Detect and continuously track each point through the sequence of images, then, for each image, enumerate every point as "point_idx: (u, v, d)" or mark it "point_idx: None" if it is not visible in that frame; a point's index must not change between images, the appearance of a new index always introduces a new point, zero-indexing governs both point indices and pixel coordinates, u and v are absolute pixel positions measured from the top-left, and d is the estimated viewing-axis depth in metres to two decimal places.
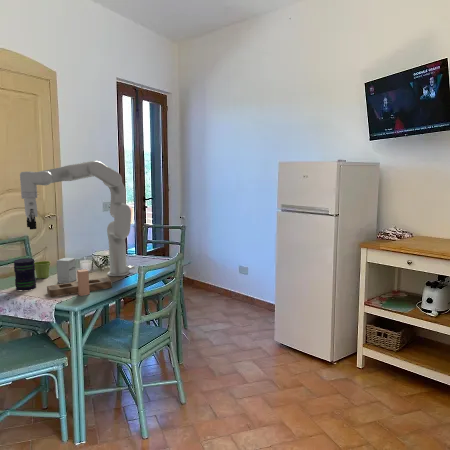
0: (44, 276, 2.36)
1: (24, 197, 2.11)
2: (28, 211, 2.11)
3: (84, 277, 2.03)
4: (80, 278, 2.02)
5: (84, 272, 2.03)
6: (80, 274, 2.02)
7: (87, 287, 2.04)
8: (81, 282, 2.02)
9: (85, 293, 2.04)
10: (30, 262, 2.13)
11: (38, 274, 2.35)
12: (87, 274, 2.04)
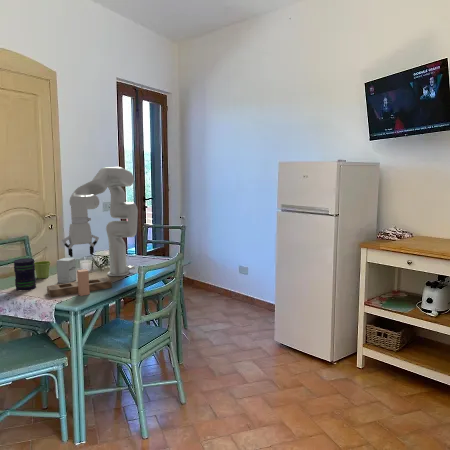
0: (44, 276, 2.36)
1: (86, 222, 2.00)
2: (91, 236, 2.03)
3: (83, 277, 2.03)
4: (80, 278, 2.02)
5: (84, 272, 2.03)
6: (80, 274, 2.02)
7: (87, 287, 2.04)
8: (81, 282, 2.02)
9: (85, 293, 2.04)
10: (30, 262, 2.13)
11: (38, 274, 2.35)
12: (87, 274, 2.04)
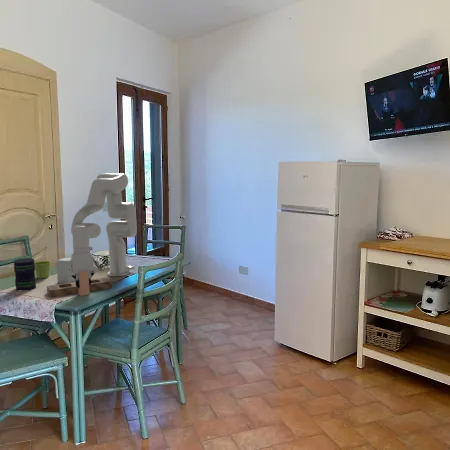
0: (44, 276, 2.36)
1: (88, 252, 2.02)
2: None
3: (83, 277, 2.03)
4: (80, 278, 2.02)
5: (84, 272, 2.03)
6: (80, 274, 2.02)
7: (87, 287, 2.04)
8: (81, 282, 2.02)
9: (85, 293, 2.04)
10: (30, 262, 2.13)
11: (38, 274, 2.35)
12: (87, 274, 2.04)
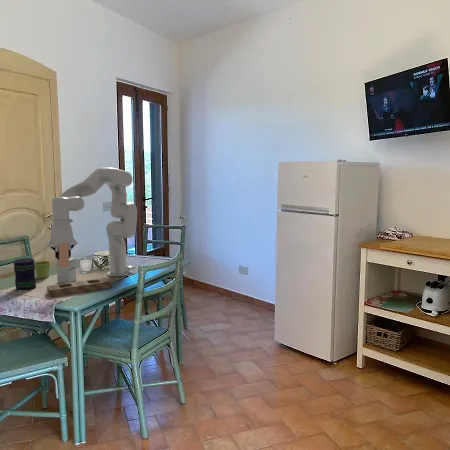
0: (44, 276, 2.36)
1: (68, 224, 2.03)
2: None
3: (63, 249, 2.04)
4: (59, 249, 2.03)
5: (64, 244, 2.04)
6: (59, 245, 2.03)
7: (66, 259, 2.05)
8: (60, 254, 2.03)
9: (64, 265, 2.05)
10: (30, 262, 2.13)
11: (38, 274, 2.35)
12: (67, 246, 2.05)
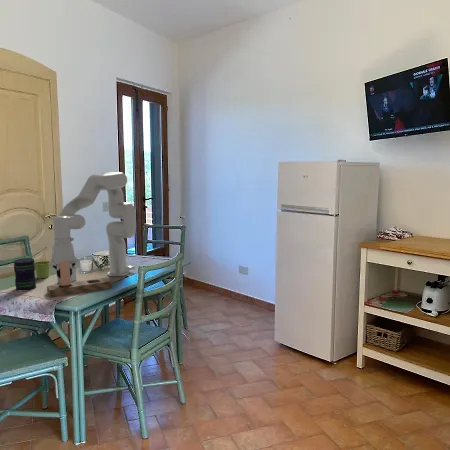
0: (44, 276, 2.36)
1: (69, 242, 2.05)
2: (74, 255, 2.08)
3: (64, 267, 2.05)
4: (61, 268, 2.04)
5: (65, 262, 2.05)
6: (61, 264, 2.04)
7: (68, 277, 2.06)
8: (62, 272, 2.05)
9: (66, 283, 2.06)
10: (30, 262, 2.13)
11: (38, 274, 2.35)
12: (68, 264, 2.06)
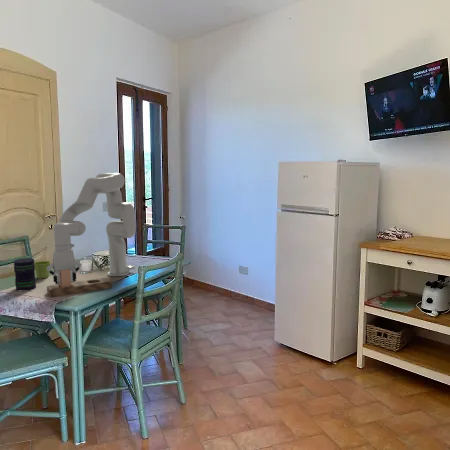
0: (44, 276, 2.36)
1: (69, 249, 2.05)
2: (74, 262, 2.08)
3: (65, 275, 2.06)
4: (62, 276, 2.05)
5: (66, 271, 2.06)
6: (62, 273, 2.05)
7: (69, 285, 2.07)
8: (63, 280, 2.06)
9: None
10: (30, 262, 2.13)
11: (38, 274, 2.35)
12: (69, 273, 2.07)
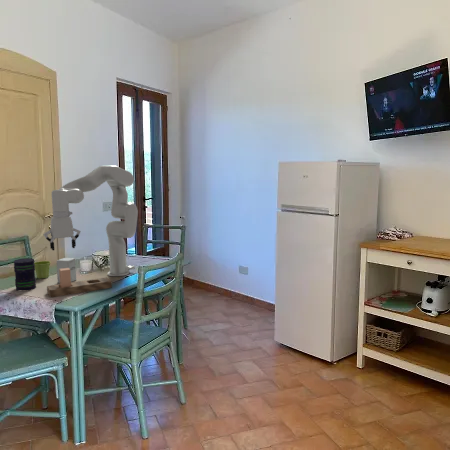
0: (44, 276, 2.36)
1: (67, 216, 2.03)
2: (73, 230, 2.06)
3: (65, 275, 2.06)
4: (62, 277, 2.05)
5: (66, 271, 2.06)
6: (62, 273, 2.05)
7: (69, 285, 2.07)
8: (63, 280, 2.06)
9: None
10: (30, 262, 2.13)
11: (38, 274, 2.35)
12: (69, 273, 2.07)
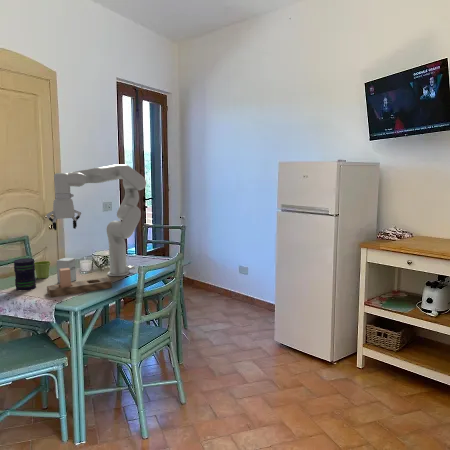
0: (44, 276, 2.36)
1: (69, 198, 2.15)
2: (74, 211, 2.18)
3: (65, 275, 2.06)
4: (62, 277, 2.05)
5: (66, 271, 2.06)
6: (62, 273, 2.05)
7: (69, 285, 2.07)
8: (63, 280, 2.06)
9: None
10: (30, 262, 2.13)
11: (38, 274, 2.35)
12: (69, 273, 2.07)
